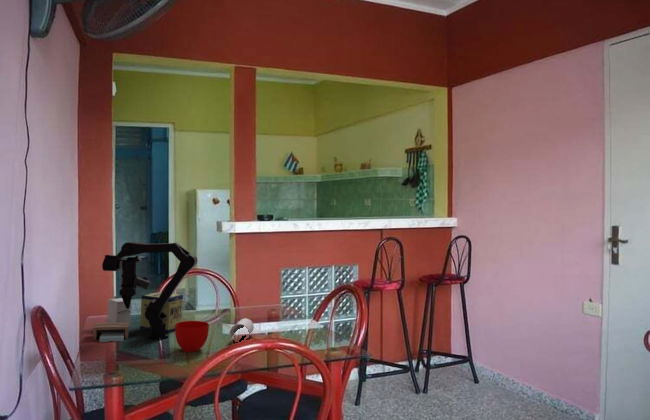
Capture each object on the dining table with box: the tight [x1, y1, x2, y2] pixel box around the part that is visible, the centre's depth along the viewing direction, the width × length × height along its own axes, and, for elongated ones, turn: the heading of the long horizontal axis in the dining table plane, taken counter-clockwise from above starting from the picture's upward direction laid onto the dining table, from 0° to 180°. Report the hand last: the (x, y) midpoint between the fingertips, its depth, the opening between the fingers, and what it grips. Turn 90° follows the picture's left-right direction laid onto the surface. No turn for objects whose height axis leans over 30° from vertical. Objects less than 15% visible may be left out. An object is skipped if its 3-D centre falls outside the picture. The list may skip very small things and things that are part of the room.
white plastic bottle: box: [228, 317, 255, 339], centre depth 227 cm, size 8×19×8 cm, turn 176°
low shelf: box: [92, 322, 130, 341], centre depth 219 cm, size 8×13×5 cm, turn 109°
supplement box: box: [106, 297, 132, 328], centre depth 236 cm, size 7×7×13 cm
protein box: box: [139, 291, 184, 334], centre depth 236 cm, size 10×16×16 cm
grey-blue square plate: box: [99, 331, 125, 343], centre depth 217 cm, size 10×9×2 cm
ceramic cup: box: [174, 320, 210, 353], centre depth 206 cm, size 13×17×10 cm
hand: (127, 308), depth 219 cm, fingers closed
